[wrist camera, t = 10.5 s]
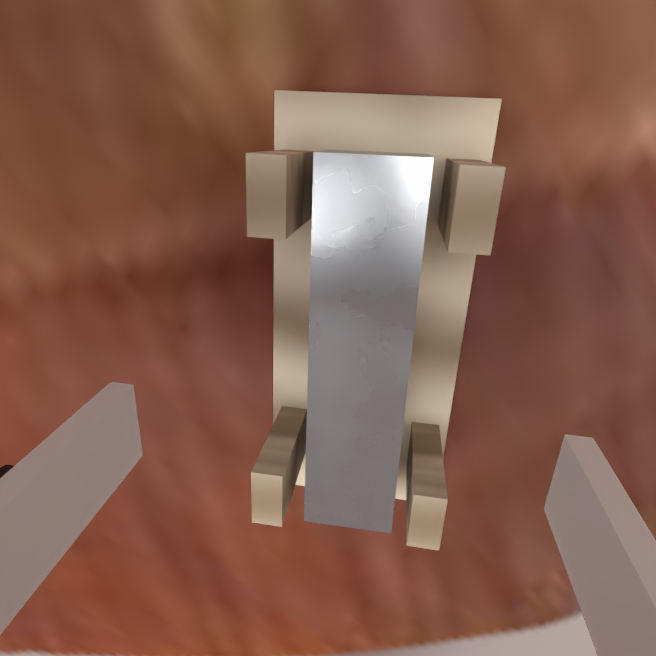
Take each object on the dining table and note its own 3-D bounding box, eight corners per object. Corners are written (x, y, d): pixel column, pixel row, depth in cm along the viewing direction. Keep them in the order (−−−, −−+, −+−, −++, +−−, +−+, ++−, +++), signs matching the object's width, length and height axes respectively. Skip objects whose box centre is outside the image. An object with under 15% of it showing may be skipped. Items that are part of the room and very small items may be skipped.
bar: (330, 149, 22) (313, 151, 18) (428, 154, 22) (433, 157, 18) (318, 466, 29) (304, 521, 25) (393, 476, 28) (391, 533, 24)
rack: (284, 93, 24) (230, 73, 16) (493, 102, 22) (537, 84, 15) (280, 461, 32) (243, 558, 24) (433, 482, 31) (442, 591, 23)
